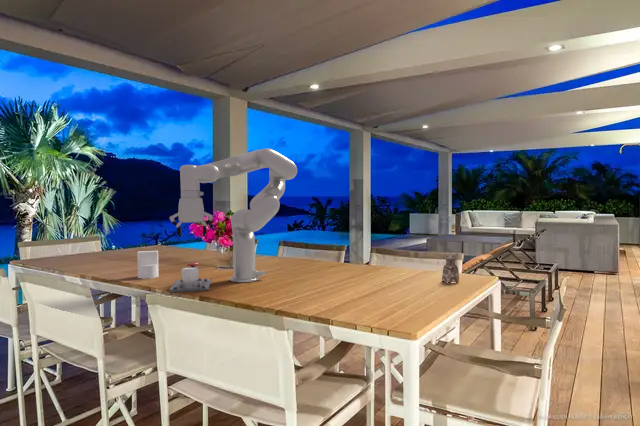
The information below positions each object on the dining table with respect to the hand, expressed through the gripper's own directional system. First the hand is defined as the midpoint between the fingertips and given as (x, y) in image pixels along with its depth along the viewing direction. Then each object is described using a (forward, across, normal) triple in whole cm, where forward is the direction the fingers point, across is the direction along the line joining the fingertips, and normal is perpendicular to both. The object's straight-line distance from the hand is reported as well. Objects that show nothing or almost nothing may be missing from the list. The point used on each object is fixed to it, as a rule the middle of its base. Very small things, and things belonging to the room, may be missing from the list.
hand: (192, 236), depth 185 cm
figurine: (+24, -108, +16) cm, 112 cm away
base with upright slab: (+21, +22, -27) cm, 41 cm away
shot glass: (+20, +1, +2) cm, 20 cm away
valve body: (+21, +1, 0) cm, 21 cm away
